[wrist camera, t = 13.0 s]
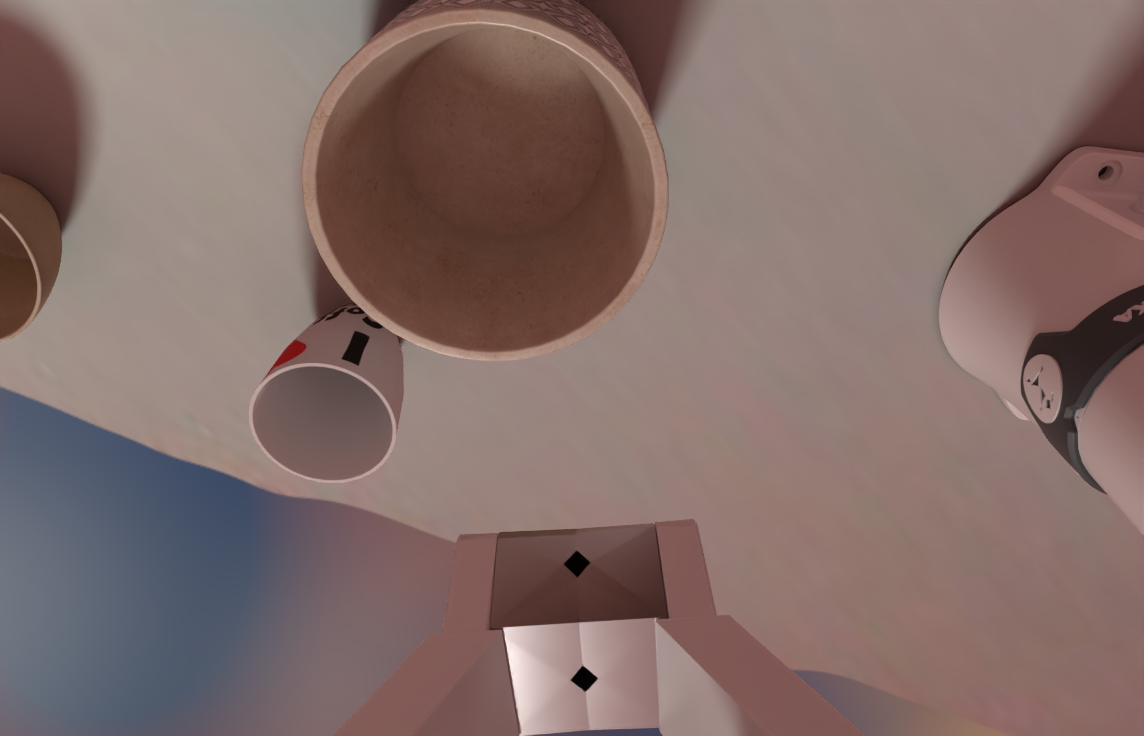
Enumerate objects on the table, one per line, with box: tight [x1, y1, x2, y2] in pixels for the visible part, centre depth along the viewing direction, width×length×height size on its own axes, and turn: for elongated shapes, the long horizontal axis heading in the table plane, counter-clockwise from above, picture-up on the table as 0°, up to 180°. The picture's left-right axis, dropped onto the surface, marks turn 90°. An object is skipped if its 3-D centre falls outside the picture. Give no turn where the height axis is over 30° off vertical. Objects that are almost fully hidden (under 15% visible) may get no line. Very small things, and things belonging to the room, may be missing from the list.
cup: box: [249, 305, 404, 483], centre depth 51 cm, size 8×8×10 cm
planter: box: [302, 0, 668, 361], centre depth 43 cm, size 16×16×13 cm
